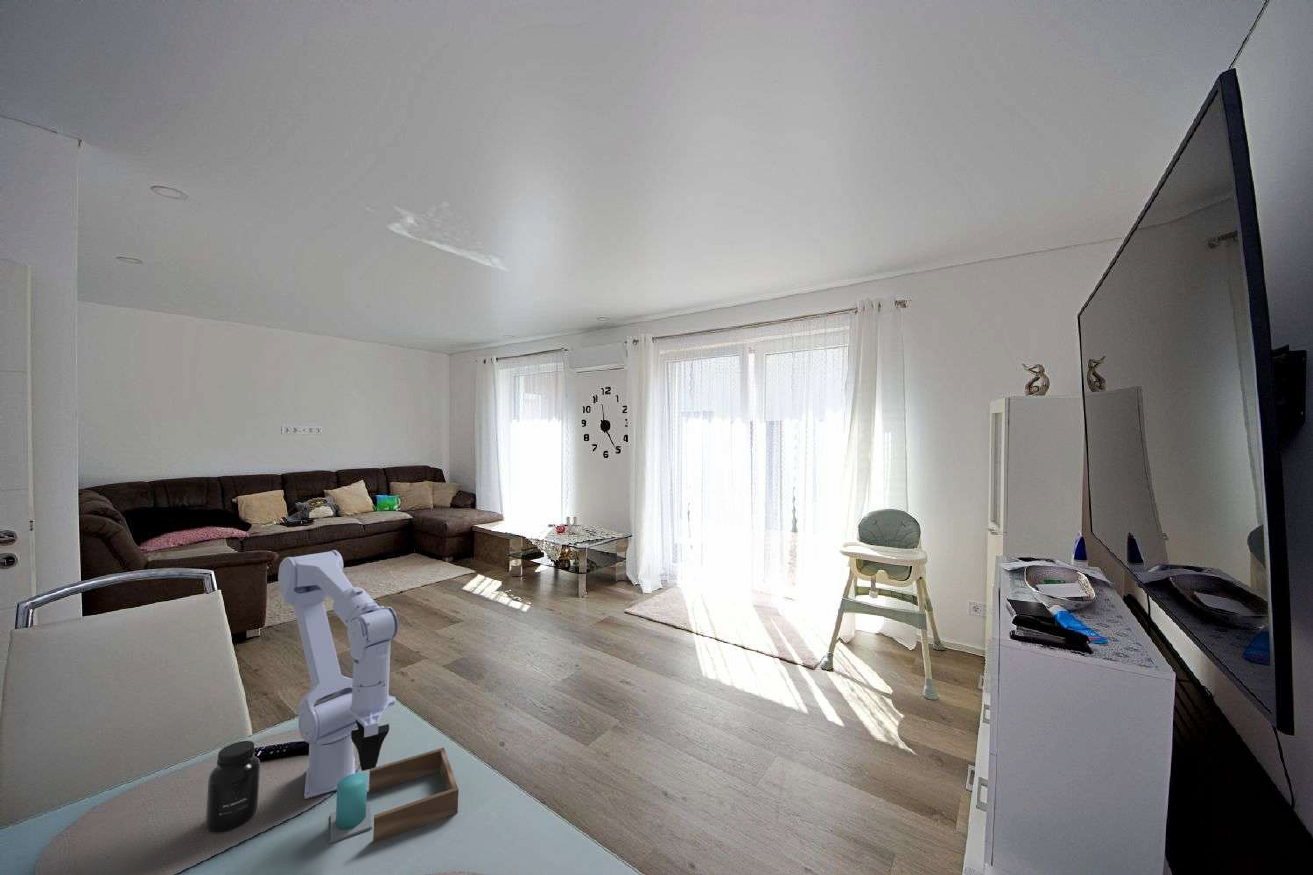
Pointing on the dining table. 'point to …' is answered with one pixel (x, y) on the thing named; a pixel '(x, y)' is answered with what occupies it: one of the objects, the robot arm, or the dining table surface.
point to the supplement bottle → (233, 788)
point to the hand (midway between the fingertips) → (368, 755)
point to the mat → (341, 834)
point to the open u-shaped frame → (420, 809)
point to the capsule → (351, 801)
